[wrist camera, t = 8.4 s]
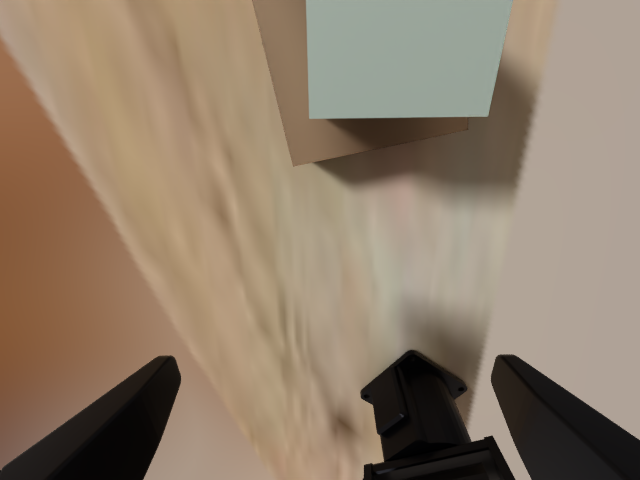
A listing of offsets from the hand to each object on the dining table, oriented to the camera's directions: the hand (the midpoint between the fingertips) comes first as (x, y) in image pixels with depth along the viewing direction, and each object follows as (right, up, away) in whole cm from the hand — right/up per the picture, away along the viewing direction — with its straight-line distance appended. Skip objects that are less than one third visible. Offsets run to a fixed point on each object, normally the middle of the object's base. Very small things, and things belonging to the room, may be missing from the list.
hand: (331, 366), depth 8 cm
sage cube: (+2, +11, +3) cm, 12 cm away
